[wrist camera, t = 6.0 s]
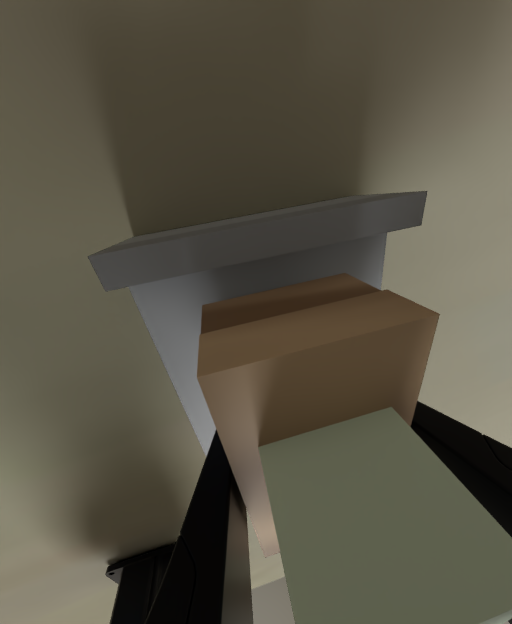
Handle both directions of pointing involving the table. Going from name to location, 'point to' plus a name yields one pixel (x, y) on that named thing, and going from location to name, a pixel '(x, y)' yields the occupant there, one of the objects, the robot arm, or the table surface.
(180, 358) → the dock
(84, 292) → the table surface
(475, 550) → the pale green block
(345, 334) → the brown cardboard box
